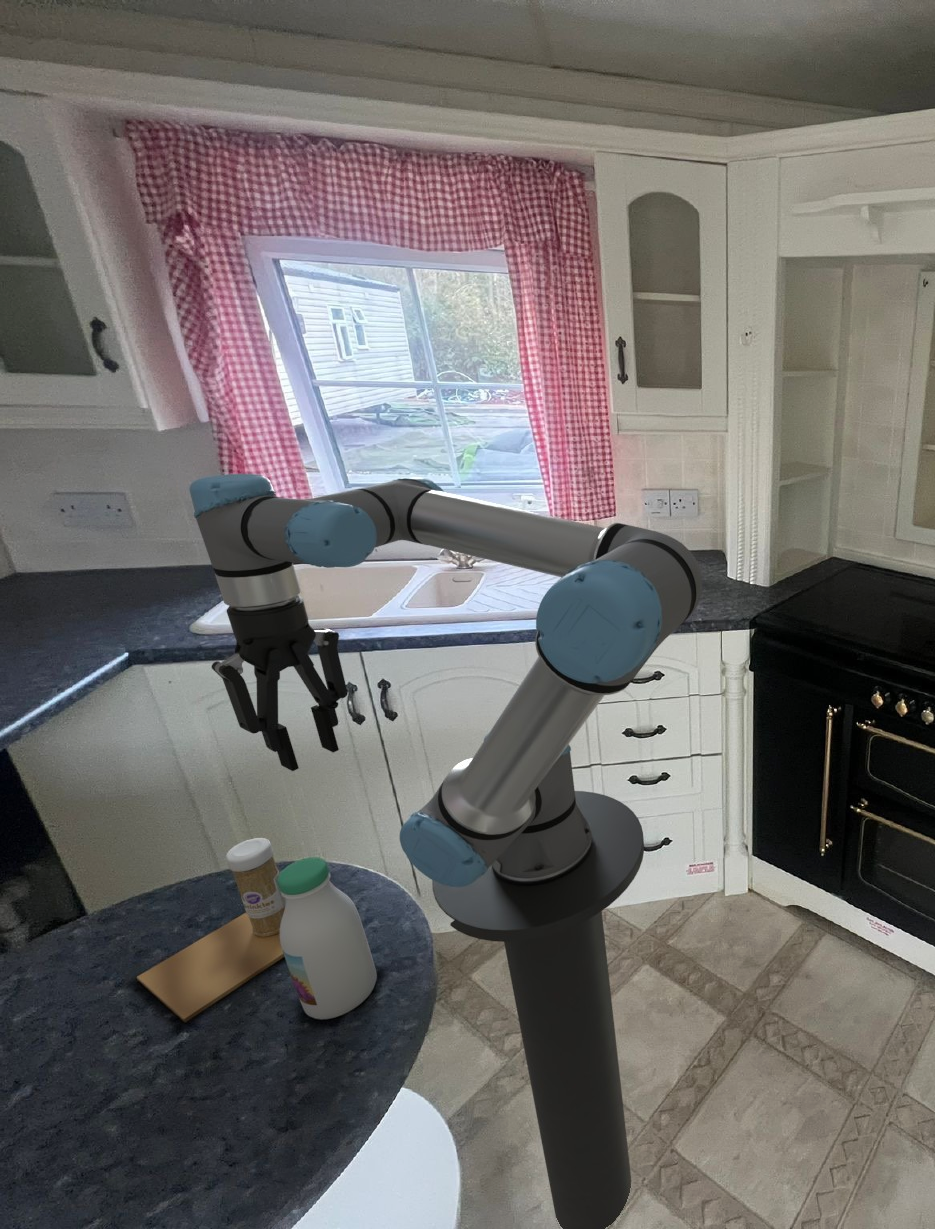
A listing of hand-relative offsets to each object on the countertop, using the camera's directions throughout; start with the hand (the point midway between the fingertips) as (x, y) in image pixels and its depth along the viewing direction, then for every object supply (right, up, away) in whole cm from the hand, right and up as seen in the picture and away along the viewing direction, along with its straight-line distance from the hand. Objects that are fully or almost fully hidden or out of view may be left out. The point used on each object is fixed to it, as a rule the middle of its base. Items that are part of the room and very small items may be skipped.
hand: (310, 757), depth 91 cm
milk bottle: (+10, -28, -8) cm, 31 cm away
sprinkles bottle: (-5, -24, 0) cm, 24 cm away
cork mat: (-7, -25, -3) cm, 27 cm away
